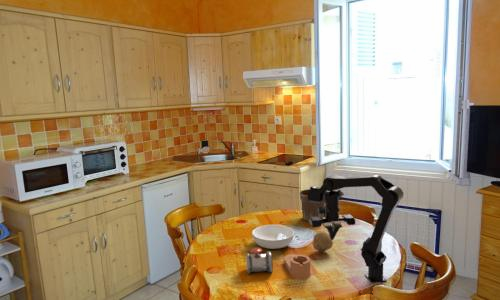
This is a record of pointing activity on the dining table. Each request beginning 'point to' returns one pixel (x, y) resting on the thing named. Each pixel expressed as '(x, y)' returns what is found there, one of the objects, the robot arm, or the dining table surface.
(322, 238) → the natural sponge
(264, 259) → the valve stub
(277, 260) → the dining table surface
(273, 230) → the serving bowl
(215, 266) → the dining table surface
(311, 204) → the plant pot
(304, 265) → the brown hollow cylinder
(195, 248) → the dining table surface
